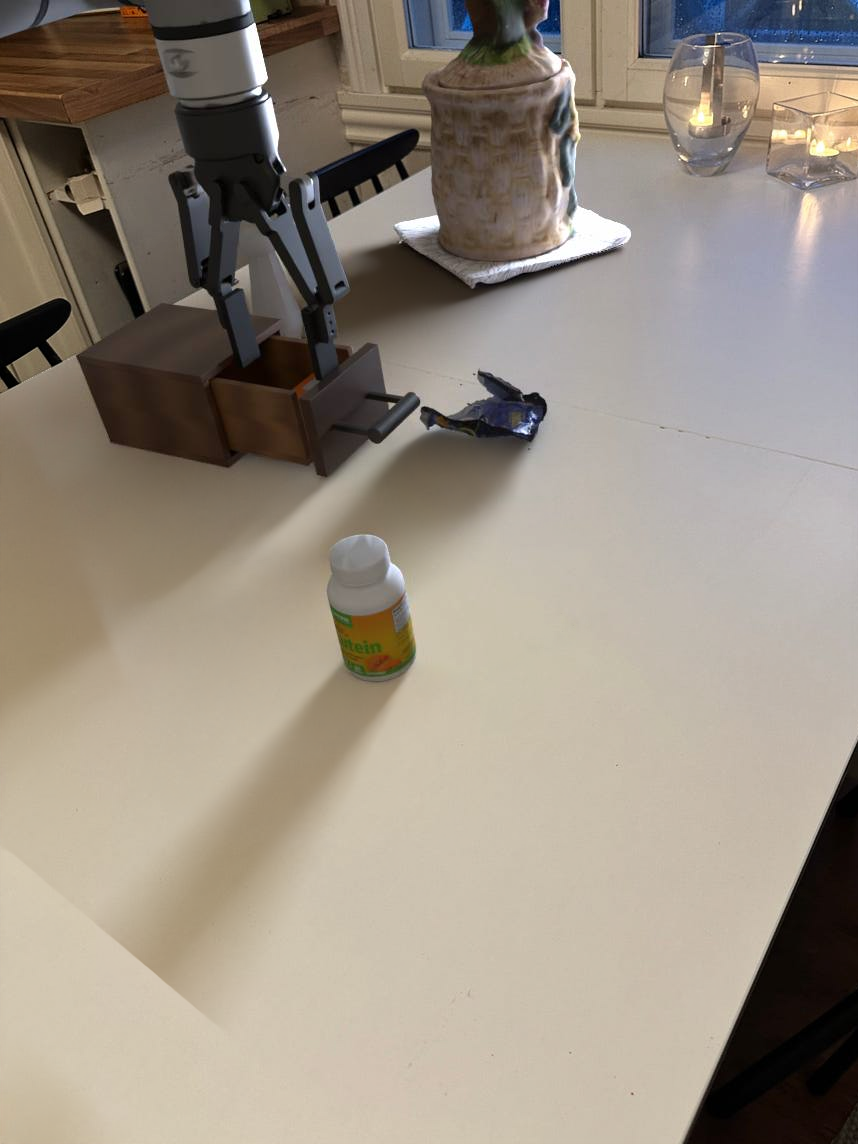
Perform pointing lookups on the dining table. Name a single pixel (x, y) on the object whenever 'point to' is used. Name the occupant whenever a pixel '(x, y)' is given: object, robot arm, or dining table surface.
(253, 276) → the salt shaker
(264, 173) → the robot arm
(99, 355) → the cabinet
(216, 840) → the dining table surface
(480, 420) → the snack package
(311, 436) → the drawer
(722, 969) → the dining table surface
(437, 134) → the cookie jar
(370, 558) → the supplement bottle
